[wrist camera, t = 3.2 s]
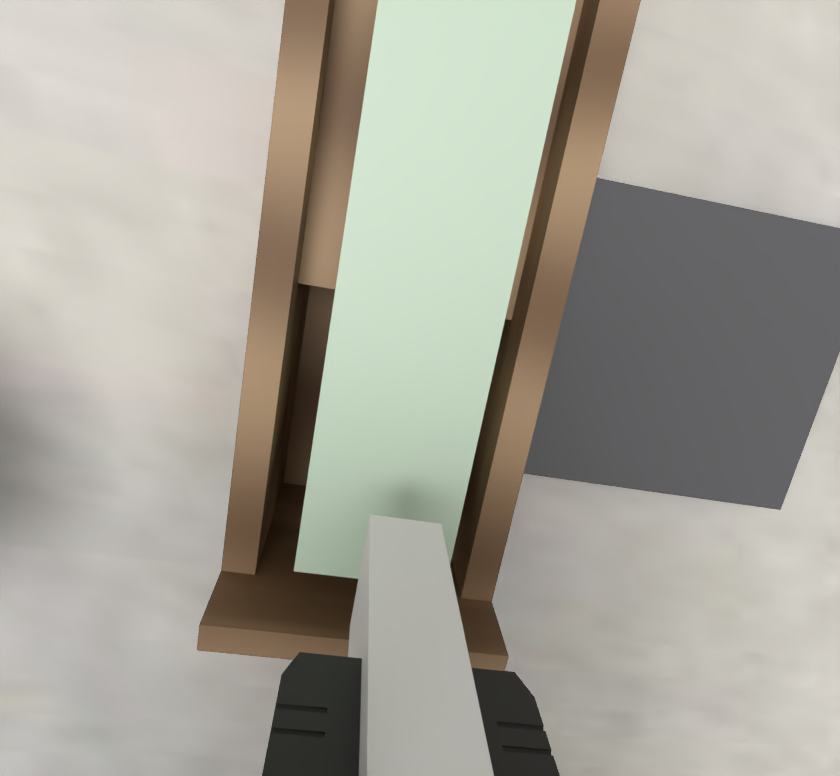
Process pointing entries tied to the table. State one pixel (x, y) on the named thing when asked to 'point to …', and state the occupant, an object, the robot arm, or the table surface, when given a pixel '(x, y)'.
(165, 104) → the table surface
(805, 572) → the table surface
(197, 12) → the table surface
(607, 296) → the rubber mat
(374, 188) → the sage bar
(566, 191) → the wooden rack
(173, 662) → the table surface
